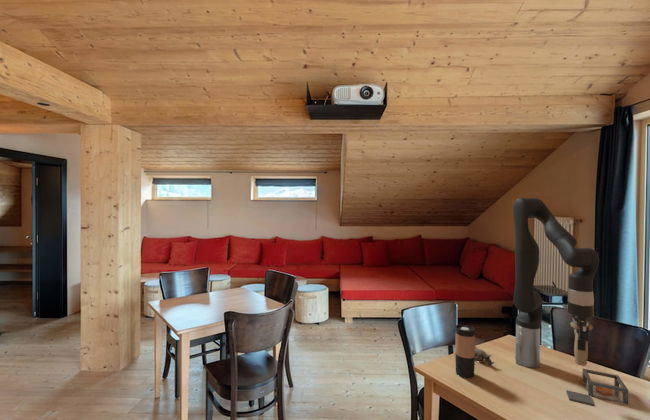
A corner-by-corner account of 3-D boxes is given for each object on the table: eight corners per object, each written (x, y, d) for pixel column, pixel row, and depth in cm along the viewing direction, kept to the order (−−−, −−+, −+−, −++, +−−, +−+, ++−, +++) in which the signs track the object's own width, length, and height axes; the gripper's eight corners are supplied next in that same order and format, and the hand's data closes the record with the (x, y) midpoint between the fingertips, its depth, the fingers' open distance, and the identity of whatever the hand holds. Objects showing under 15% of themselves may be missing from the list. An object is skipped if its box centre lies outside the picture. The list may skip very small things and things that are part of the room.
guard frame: (589, 395, 118) (589, 381, 118) (582, 381, 128) (582, 368, 128) (628, 404, 113) (628, 390, 113) (618, 388, 123) (618, 375, 122)
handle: (595, 368, 114) (595, 327, 113) (575, 367, 114) (576, 326, 114) (585, 361, 118) (586, 322, 118) (567, 360, 119) (567, 321, 119)
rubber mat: (569, 400, 116) (569, 398, 116) (566, 391, 121) (566, 390, 121) (593, 405, 112) (593, 404, 112) (589, 396, 117) (589, 395, 117)
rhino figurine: (490, 370, 137) (490, 356, 137) (465, 356, 149) (465, 343, 149) (496, 368, 138) (497, 354, 138) (471, 354, 151) (471, 342, 151)
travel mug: (466, 380, 128) (466, 332, 128) (451, 372, 135) (451, 326, 135) (478, 376, 132) (479, 329, 132) (463, 367, 139) (463, 323, 138)
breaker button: (597, 392, 119) (597, 388, 119) (593, 385, 124) (593, 382, 124) (614, 396, 117) (614, 392, 117) (610, 389, 121) (610, 385, 121)
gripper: (564, 295, 124) (564, 338, 124) (571, 305, 112) (571, 353, 112) (588, 298, 120) (588, 342, 121) (598, 308, 108) (598, 358, 108)
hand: (580, 347), depth 116 cm, fingers closed on handle, 4 cm apart
